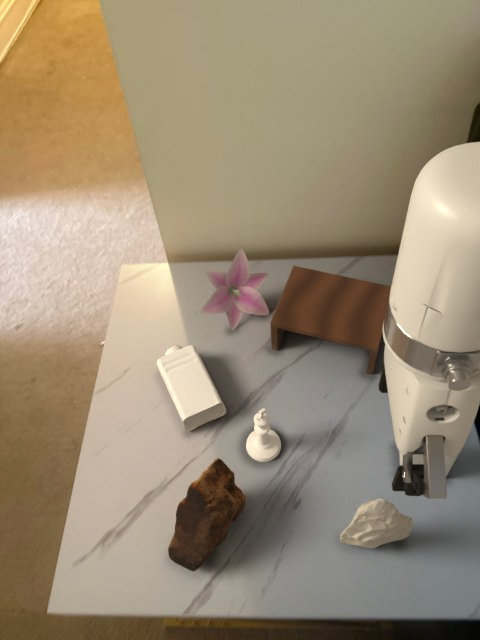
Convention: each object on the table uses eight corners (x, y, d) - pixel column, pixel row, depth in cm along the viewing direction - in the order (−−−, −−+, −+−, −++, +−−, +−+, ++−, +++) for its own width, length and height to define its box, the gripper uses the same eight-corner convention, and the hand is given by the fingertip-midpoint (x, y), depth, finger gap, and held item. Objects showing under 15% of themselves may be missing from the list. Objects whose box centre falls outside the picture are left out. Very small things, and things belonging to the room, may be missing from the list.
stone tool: (340, 557, 70) (351, 517, 58) (336, 532, 71) (345, 488, 59) (409, 549, 69) (434, 508, 58) (403, 524, 71) (425, 479, 59)
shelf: (387, 314, 92) (394, 286, 86) (372, 374, 85) (378, 348, 79) (293, 293, 96) (293, 265, 90) (271, 349, 89) (270, 322, 84)
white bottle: (194, 350, 90) (190, 334, 87) (227, 414, 83) (224, 400, 79) (156, 366, 89) (151, 351, 85) (186, 433, 81) (181, 419, 78)
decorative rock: (220, 479, 77) (212, 445, 68) (256, 505, 74) (252, 473, 66) (162, 554, 71) (145, 527, 63) (199, 584, 69) (186, 561, 60)
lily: (193, 334, 93) (206, 319, 84) (191, 267, 96) (203, 246, 87) (261, 335, 97) (281, 321, 88) (257, 270, 100) (276, 250, 91)
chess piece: (287, 439, 80) (287, 404, 72) (270, 468, 77) (268, 435, 69) (257, 423, 81) (253, 388, 73) (239, 452, 79) (234, 418, 71)
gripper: (537, 441, 32) (464, 533, 46) (472, 231, 43) (428, 356, 56) (403, 441, 33) (370, 532, 46) (371, 233, 43) (352, 357, 57)
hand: (402, 436), depth 51 cm, fingers open, 9 cm apart
